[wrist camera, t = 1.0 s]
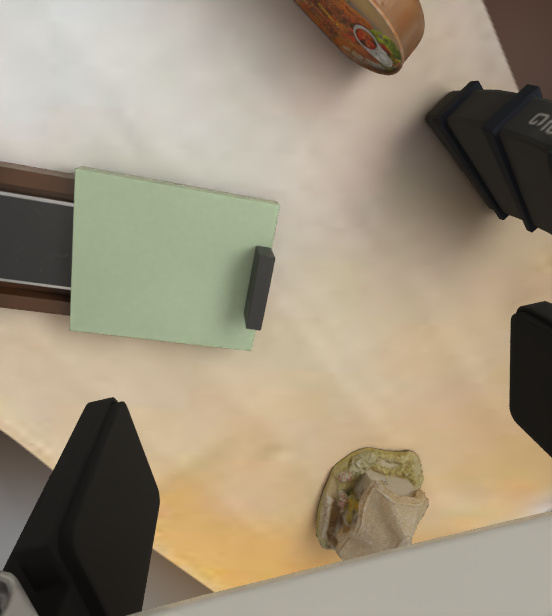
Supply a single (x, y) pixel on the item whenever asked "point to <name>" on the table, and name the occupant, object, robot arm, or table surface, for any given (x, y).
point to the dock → (44, 185)
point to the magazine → (502, 148)
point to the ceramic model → (371, 503)
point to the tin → (370, 29)
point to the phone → (36, 239)
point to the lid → (169, 260)
